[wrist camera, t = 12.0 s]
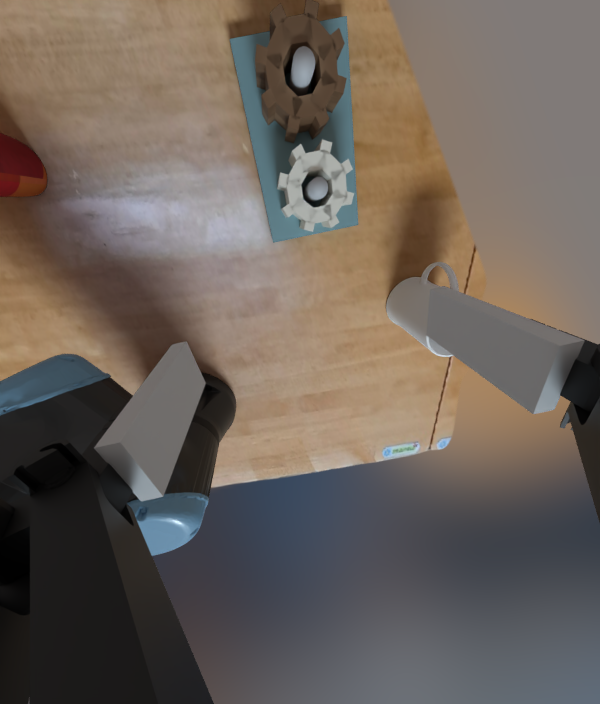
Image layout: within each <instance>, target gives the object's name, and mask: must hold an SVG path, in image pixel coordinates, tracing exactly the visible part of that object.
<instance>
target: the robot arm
mask: <svg viewBox="0 0 600 704" xmlns="http://www.w3.org/2000/svg"><path fill="white" fill-rule="evenodd" d="M426 335H427V336H428V337H429V338H431V339H432V340H433V341H435V342H436V343H437V344H439V345H440V346H441V347H443V348H444V349H446V350H447V351H448V352H450V353H451V354H452V355H454V356H455V357H456V358H458V359H459V360H460V361H462V362H463V363H464V364H466V365H467V366H469V367H470V368H471V369H473V370H474V371H475V372H477V373H478V374H480V375H481V376H482V377H483V378H485V379H486V380H488V381H489V382H490V383H492V384H493V385H494V386H496V387H497V388H498V389H500V390H501V391H502V392H504V393H505V394H507V395H508V396H509V397H511V398H512V399H513V400H515V401H516V402H517V403H519V404H520V405H521V406H523V407H524V408H526V409H527V410H528V411H530V412H531V413H532V414H536V413H541V412H545V411H550V410H554V409H555V407H556V405H557V402H558V400H559V398H560V396H563V397H564V398H566V399H568V400H569V401H571V402H570V405H569V407H568V409H567V411H566V413H565V415H564V417H563V419H562V421H561V424H560V427H561V428H565V426H566V424H567V423H569V422H571V425H572V428H571V430H573V432H574V435H575V439H576V442H577V446H578V449H579V453H580V456H581V460H582V463H583V467H584V470H585V474H586V477H587V480H588V484H589V488H590V491H591V495H592V498H593V501H594V505H595V508H596V512H597V515H598V518H599V522H600V344H599V345H597V344H595V343H592V342H590V341H587V340H585V339H582V338H579V337H577V336H574V335H572V334H569V333H566V332H563V331H560V330H557V329H556V328H553V327H551V326H546V325H545V324H543V323H540V322H537V321H535V320H532V319H528V318H525V317H523V316H520V315H517V314H515V313H512V312H510V311H507V310H505V309H502V308H500V307H497V306H494V305H492V304H489V303H487V302H484V301H481V300H479V299H476V298H474V297H471V296H468V295H466V294H463V293H461V292H458V291H455V290H453V289H450V288H448V287H445V286H442V287H438V288H433V289H430V296H429V308H428V320H427V333H426ZM110 377H111V376H110V375H109V374H108V373H104V372H102V371H101V370H100V369H98V368H97V367H95V366H94V365H93V364H91V363H90V362H89V361H87V360H86V359H84V358H83V357H81V356H78V355H75V354H61V355H57V356H54V357H51V358H49V359H46V360H44V361H42V362H40V363H37V364H35V365H33V366H31V367H29V368H27V369H25V370H22V371H20V372H18V373H16V374H14V375H12V376H10V377H8V378H6V379H4V380H2V381H0V704H28V701H29V696H30V704H214V703H213V701H212V698H211V696H210V693H209V691H208V688H207V686H206V684H205V681H204V679H203V677H202V675H201V672H200V669H199V667H198V665H197V662H196V660H195V658H194V655H193V653H192V651H191V648H190V646H189V643H188V641H187V638H186V636H185V634H184V631H183V629H182V627H181V624H180V622H179V619H178V617H177V615H176V612H175V610H174V608H173V605H172V603H171V600H170V598H169V596H168V593H167V591H166V589H165V586H164V584H163V582H162V579H161V577H160V574H159V572H158V569H157V567H156V565H155V562H154V560H153V558H152V555H157V554H161V553H165V552H168V551H171V550H174V549H176V548H178V547H180V546H182V545H184V544H185V543H187V542H188V541H189V540H190V539H192V538H193V537H194V535H195V534H196V533H197V531H198V530H199V527H200V525H201V522H202V519H203V515H204V511H205V508H206V506H207V504H208V498H209V493H210V488H211V483H212V478H213V473H214V467H215V462H216V457H217V452H218V447H219V443H220V441H221V439H222V438H223V436H224V435H225V433H226V432H227V430H228V429H229V428H230V426H231V425H232V423H233V420H234V417H235V412H236V400H235V397H234V394H233V393H232V391H231V390H230V388H229V387H228V386H227V385H226V384H225V383H224V382H222V381H221V380H219V379H218V378H216V377H214V376H211V375H209V374H205V373H201V372H200V369H199V367H198V365H197V363H196V361H195V359H194V356H193V354H192V352H191V350H190V348H189V346H188V343H187V341H186V342H181V343H176V344H172V345H171V347H170V348H169V349H168V351H167V352H166V353H165V354H164V356H163V357H162V358H161V360H160V361H159V362H158V364H157V365H156V366H155V368H154V369H153V370H152V372H151V373H150V374H149V376H148V377H147V378H146V380H145V381H144V382H143V384H142V385H141V386H140V388H139V389H138V390H137V392H136V393H135V394H134V396H133V395H131V394H130V393H129V392H128V391H126V390H125V389H124V388H123V387H121V386H120V385H119V384H118V383H116V382H115V381H114V380H113V379H112V378H110Z"/></svg>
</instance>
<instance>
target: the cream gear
mask: <svg viewBox="0 0 600 704" xmlns="http://www.w3.org/2000/svg"><path fill="white" fill-rule="evenodd" d="M331 146H332V142H329V141H326V140H323V139H322V140H321V142H320V143H319V145H318V146H317V148H316V149H315V150H314V152H309V153H305V151H304V149H303V147H302V145H301V144H300V145H299V146H297V147H296V148H295V149H294V150H292V152H291V155H290V158H289V160H288V161H289V163H290V165H291V167H292V170H291V171H290V173H289V175H288V174H284V173H281V172H280V175H279V179H278V186H277V189H278V190H282V191H284V194H285V199H286V206H285V207H283V208H282V209H281V211H282V212H283V214H284V216H285V217H290V216H291V215H292V214H293V215H294V216H295V217H297V218H298V219H299V220H300V221H301V222H300V227H299V228H300V229H303V230H307V231H312V232H313V230H314V225H315V223H320V222H321V224H322V226H323V227H328V228H332V227H334V226H335V225H336V224H338V223H339V221H338V219H337V217H336V214H337V212H338V211H339V209H340V208H341V206H344V205H350V204H352V200H353V196H354V193H351V192H348V191H347V186H346V174H347V173H349V172H350V171H351V170H353V168H352V166H351V164H350V161H349V159H347V160H346V161H344V162H343V163H342V164H341V163H339V162H338V161H337V160H336V159H335V158H334V157H333V156H332V155H331V154H330V151H331ZM311 176H314V177H315V178H316V177H323V178H324V179H325V180H326V181H327V184H328V191H327V194H326V195H325V197H324V198H323V199H322V201H321V202H320V204H319V206H318V207H315V208H313V207H312V206H311V205H309V204H308V203H307V202H306V201H305V200H303V194H302V187H301V184H302V182H303V181H304V179H305V178H307V177H311Z"/></svg>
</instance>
